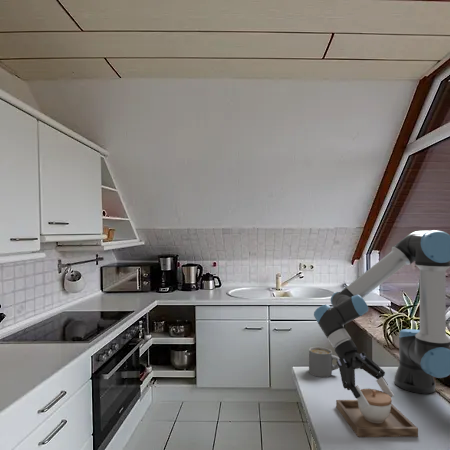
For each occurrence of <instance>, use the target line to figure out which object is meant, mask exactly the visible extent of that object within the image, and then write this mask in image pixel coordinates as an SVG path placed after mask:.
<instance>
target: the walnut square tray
mask: <svg viewBox="0 0 450 450" xmlns="http://www.w3.org/2000/svg"><path fill="white" fill-rule="evenodd" d="M335 402H336V403H335V407H336V408H337V410H338V411H339V413H340V414H341V415H342V418H343V419H344V420H345V421H346V422H347V424H348V425H349V427H350V428H351V429H352V430H353V432H354V434H355V435H356V436H357V437H358V438H396V437H397V438H398V437H399V438H403V437H405V438H407V437H409V438H411V437H413V438H414V437H415V438H417V437H419V428H418V427H417V426H416V425H415V424H414V423H413V422H412V421H411V420H410V419H409V418H407V416H405V415H404V413H402V412H401V411H400V410H399V409H398V408H397V407H396V406H395V405H394V404H393V403H392V402H391V411H390V414H389V416H388V418H387V419H386V420H384V422H382V423H372V422H369V421H367V420H366V419H365V418H364V416H363V415H362V414H361V412H360V410H359V407H358V400H357V399H336V401H335Z"/></svg>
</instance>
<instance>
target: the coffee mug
mask: <svg viewBox="0 0 450 450" xmlns="http://www.w3.org/2000/svg"><path fill="white" fill-rule="evenodd" d="M339 359H340V358H339V357H338V355H333V351H332V349H329V348H327V347H323V346H311V347H309V350H308V373H309V374H311V375H312V376H314V377H318V378H329V377H331V375H332V372H333V371H334V370H335V371H336V370H338V369H339V366H338V364H337V363H336V365H334V364H333V360H336V361H337V360H339Z"/></svg>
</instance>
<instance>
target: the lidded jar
mask: <svg viewBox="0 0 450 450" xmlns="http://www.w3.org/2000/svg"><path fill="white" fill-rule="evenodd" d="M360 390H361V392H362V393H363V395H364V396H365V398H366V400H367V401H368V403H369V406H368V407H366V408H365V409H363V408H362V406H361V405H360V403H359V401H358V407H359V410H360V412H361V414H362V415H363V416H364V418H365V419H366V420H367V421H369V422H372V423H382V422H384V420H386V419H387V418H388V416H389V414H390V411H391V403H392V401H393V399H392V397H390V396H389V395H388V394H386V393H384V392H383V391H381V390H379V389H375V388H360Z"/></svg>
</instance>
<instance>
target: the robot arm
mask: <svg viewBox="0 0 450 450" xmlns="http://www.w3.org/2000/svg"><path fill="white" fill-rule="evenodd" d="M413 263H414V264H415V266H416V267H417V268H418V269H419V329H412V328H410V329H409V328H405V329H401V330H400V331H399V334H398V335H399V336H398V343H399V344H398V357H399V361H398V366H397V370H396V372H395V374H394V379H393V380H394V384H395V385H396V386H397V387H399V388H401V389H403V390H405V391H408V392H412V393H416V394H426V395H427V394H432V393H435V392H436V390H435V388H436V385H437V384H436V382H435V379H434V378H437V379H439V378H440V379H441V378H442V379H443V378H447V377H448V376H450V338H449V337H448V336H447V332H446V330H447V329H446V328H447V327H446V326H447V325H446V323H447V321H446V319H447V315H446V314H447V313H446V310H447V309H446V308H447V307H446V306H447V305H446V304H447V303H446V300H447V299H446V296H447V295H446V292H447V291H446V285H447V284H446V283H447V281H446V275H447V274H446V272H447V270H448V269H450V234H449V233H447V232H446V231H442V230H439V229H437V230H435V229H433V230H431V229H430V230H416V231H413V232H411V233H409V234H408V235H406V236H405V237H403V238H402V239H401V240H400V241H399V242H397V243H396V244H395V245H394V246H392V247H391V251H390V252H389V253H388V254H386V255H385V256H384V257H382V258H381V259H380V260H379V261H378V262H376V263H375V264H374V265H373V266H372V267H370V268H369V269H368V270H366V271H365V272H364V273H363V274H361V275H360V276H359V277H357V278H356V279H355V280H353V282H351V283H350V284H349V285H347V286H346V287H345V288H344V289H342V290H341V291H336V292H334V293H332V295H331V296H330V303H331V306H332V307H331V306H330V304H327V303H326V304H323V305H320V306H319V307H318V308H316V309H315V311H314V312H313V317H314V319H315V321H316V323H317V324H318V326H319V327H320V329H321V331H322V332H323V334H324V335H325V337H326V338H327V340H328V341H329V343H330V346H331V347H332V348H333V349H334V352H335V354H336V356H337V357H338V358H339V360H336V365H337V364H338V366H339V368H338V369H339V373H340V378H341V382H342V387H343V388H344V390H345V389H346V390H347V391H351V393H352V395H353V397H354V398H355V399H356V400H358V401H359V403H360V405H361V406H362V408H363V409H365V408H366V407H368V406H369V403H368V401H367V400H366V398H365V396H364V395H363V393H362V392H361V388H360V387H359V385H356V375H355V374H356V373H355V371H356V370H358V369H360V370H363V371H365V372H366V373H368V374H369V375H370V376H371V377H373V378H375V379H376V380H375V382H376V383H377V385H378V386H379V387H380V389H381V390H382V392H384V393H386V394H388V395H389V396H390V397H391V398H392V397H393V396H394V397H395V394H394V392H393V391H392V389H391V387H390V385H389V384H388V381H386V380H385V378H384V376H385V374H386V372H385V371H384V369H382V368H381V367H380V366H379V365H378V364H377V363H376V362H375V361H373V360H372V359H371V358H370V357H369V356H368V355H367V353H366V352H365V351H362V352H361V353H359V352H358V347H357V345H356V344H355V342H354V341H353V339H352V337H351V336H350V334H349V333H348V331H347V330H346V328H345V327H344V326H345V325H346V324H349V323H350V322H352V321H354V320H356V319H358V318H360V317H362V316H363V315H365V314H367V313H368V312H369V306H368V304H367V302H366V300H365V297H366V296H368V295H369V294H370V293H371V292H373V291H374V290H375V289H377V288H378V287H379V286H380V285H382V284H383V283H384V282H386V281H387V280H388V279H390V278H391V277H392V276H393V275H394V274H396V273H397V272H398V271H400V270H401V269H402V268H403V267H404V266H410V265H411V264H413Z"/></svg>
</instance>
